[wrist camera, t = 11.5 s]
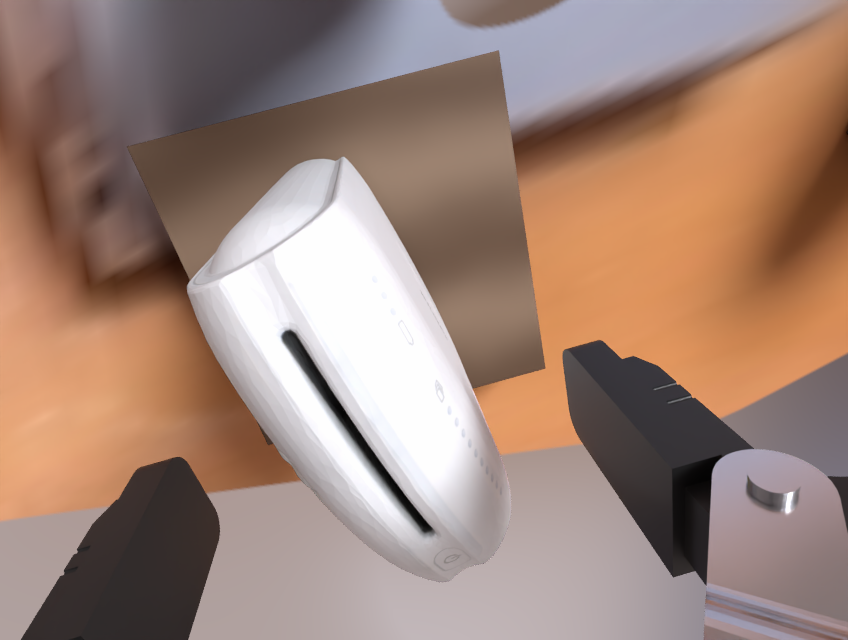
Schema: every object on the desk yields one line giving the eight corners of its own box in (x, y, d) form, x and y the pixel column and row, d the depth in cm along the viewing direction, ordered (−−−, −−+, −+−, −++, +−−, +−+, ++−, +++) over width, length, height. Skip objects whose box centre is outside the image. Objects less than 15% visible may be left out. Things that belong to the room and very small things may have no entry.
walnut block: (166, 140, 21) (126, 146, 17) (474, 60, 21) (498, 50, 18) (280, 399, 27) (268, 444, 23) (519, 333, 27) (545, 368, 23)
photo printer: (460, 345, 22) (567, 583, 11) (380, 386, 23) (404, 659, 11) (347, 136, 18) (333, 175, 7) (250, 190, 18) (85, 313, 7)
